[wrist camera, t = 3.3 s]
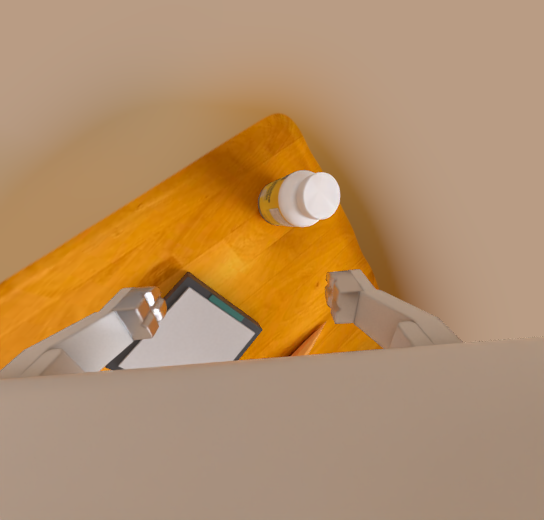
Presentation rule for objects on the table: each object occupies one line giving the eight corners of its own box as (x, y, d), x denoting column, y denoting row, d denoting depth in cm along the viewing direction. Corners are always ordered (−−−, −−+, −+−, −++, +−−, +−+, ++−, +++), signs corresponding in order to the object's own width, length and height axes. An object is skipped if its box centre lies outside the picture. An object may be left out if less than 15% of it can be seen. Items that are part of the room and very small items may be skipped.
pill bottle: (285, 176, 31) (338, 152, 20) (299, 215, 33) (353, 212, 22) (249, 192, 29) (285, 175, 18) (266, 232, 31) (308, 238, 20)
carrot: (253, 403, 36) (269, 425, 34) (242, 400, 33) (258, 424, 30) (319, 319, 42) (337, 332, 39) (314, 309, 39) (334, 323, 36)
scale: (111, 354, 26) (103, 370, 23) (187, 271, 27) (188, 276, 25) (199, 393, 31) (201, 409, 29) (257, 322, 33) (264, 331, 30)
